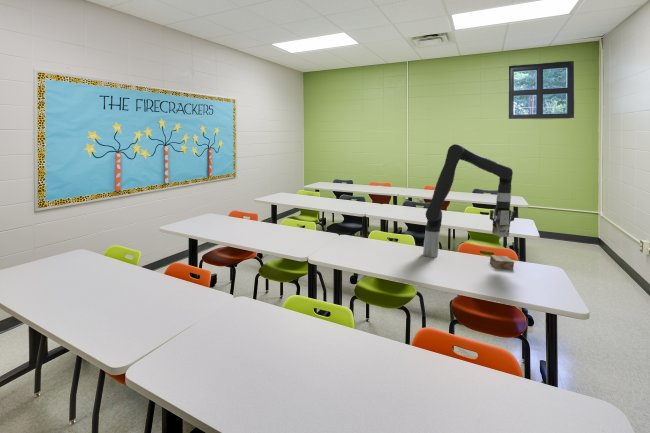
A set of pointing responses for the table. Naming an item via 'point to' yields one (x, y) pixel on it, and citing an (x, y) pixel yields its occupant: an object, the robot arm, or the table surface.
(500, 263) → the walnut block
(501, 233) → the coffee box
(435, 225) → the robot arm
